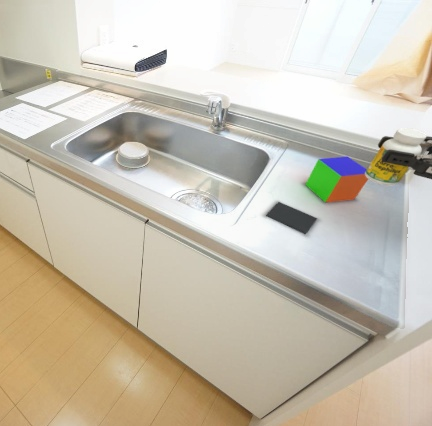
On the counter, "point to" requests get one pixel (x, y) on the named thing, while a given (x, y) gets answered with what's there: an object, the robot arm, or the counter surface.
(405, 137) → the supplement bottle
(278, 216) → the mat
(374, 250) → the counter surface
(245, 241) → the counter surface
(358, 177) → the cube
